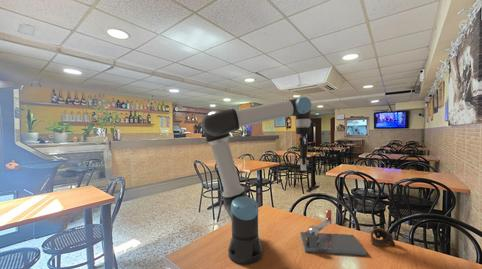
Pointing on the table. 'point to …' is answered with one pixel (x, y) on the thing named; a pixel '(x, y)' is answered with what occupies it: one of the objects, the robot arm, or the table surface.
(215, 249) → the table surface
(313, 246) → the base board
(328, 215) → the lever
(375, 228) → the pottery mug
